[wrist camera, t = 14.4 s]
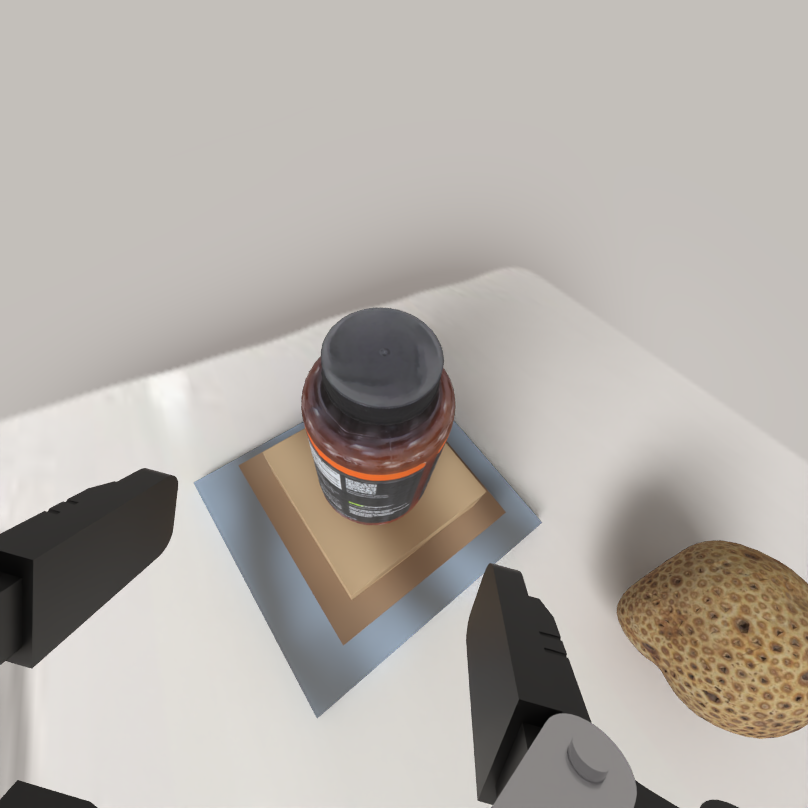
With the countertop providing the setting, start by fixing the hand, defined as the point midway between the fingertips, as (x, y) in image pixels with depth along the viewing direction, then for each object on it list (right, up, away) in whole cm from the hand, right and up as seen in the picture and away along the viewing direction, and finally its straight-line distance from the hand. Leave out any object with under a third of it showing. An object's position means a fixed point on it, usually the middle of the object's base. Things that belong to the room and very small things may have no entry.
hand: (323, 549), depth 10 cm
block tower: (0, -4, +19) cm, 19 cm away
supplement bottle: (0, 0, +13) cm, 13 cm away
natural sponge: (+19, -12, +17) cm, 28 cm away
